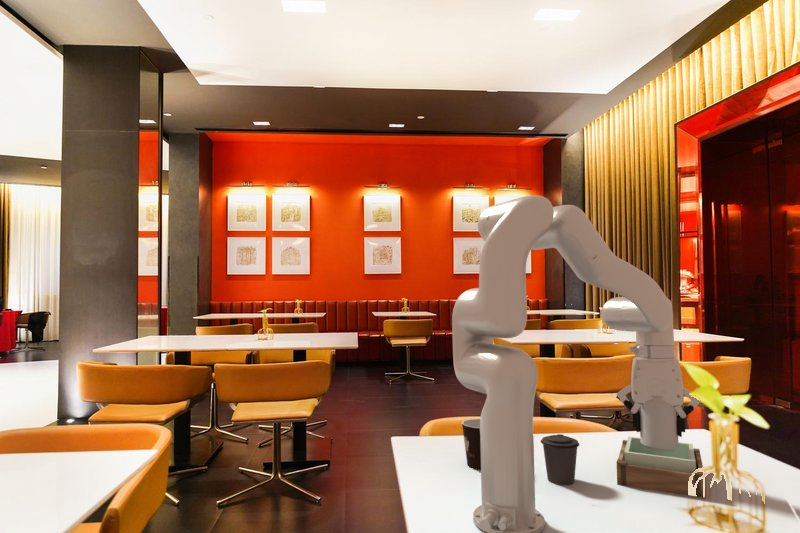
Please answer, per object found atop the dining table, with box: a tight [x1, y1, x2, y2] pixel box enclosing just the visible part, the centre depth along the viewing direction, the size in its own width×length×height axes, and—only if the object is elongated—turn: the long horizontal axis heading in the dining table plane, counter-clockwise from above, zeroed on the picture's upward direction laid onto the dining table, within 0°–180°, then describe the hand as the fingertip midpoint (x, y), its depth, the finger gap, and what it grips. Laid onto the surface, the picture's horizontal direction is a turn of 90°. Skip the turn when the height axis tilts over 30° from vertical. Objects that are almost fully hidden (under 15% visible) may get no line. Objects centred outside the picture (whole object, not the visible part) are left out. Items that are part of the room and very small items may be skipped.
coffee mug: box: [461, 418, 481, 471], centre depth 117 cm, size 12×9×10 cm
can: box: [639, 396, 679, 452], centre depth 109 cm, size 8×8×12 cm
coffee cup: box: [540, 433, 580, 486], centre depth 107 cm, size 8×8×10 cm
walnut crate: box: [616, 439, 707, 499], centre depth 108 cm, size 18×16×5 cm
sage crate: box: [624, 436, 696, 473], centre depth 108 cm, size 13×13×6 cm
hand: (658, 432), depth 109 cm, fingers closed on can, 7 cm apart
